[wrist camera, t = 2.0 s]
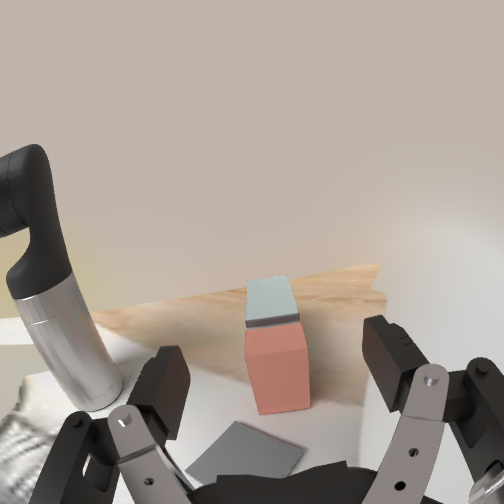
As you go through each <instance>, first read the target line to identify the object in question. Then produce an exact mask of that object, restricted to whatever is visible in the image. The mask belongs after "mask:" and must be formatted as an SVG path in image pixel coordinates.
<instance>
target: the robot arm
mask: <svg viewBox="0 0 504 504" xmlns="http://www.w3.org/2000/svg"><path fill="white" fill-rule="evenodd" d="M27 227H29V230H30V244H29V246H28V248H27V250H26V252H25V253H24V255H23V256H22V257H21V259H20V260H19V261H18V262H17V263H16V264H15V265H14V266H13V267H12V268H11V269H10V270H9V271H8V273H7V275H6V282H7V286H8V288H9V291H10V293H11V296H12V298H13V301H14V303H15V305H16V308H17V310H18V312H19V314H20V316H21V319H22V320H23V322H24V325H25V327H26V329H27V331H28V333H29V334H30V336H31V338H32V340H33V342H34V344H35V346H36V348H37V349H38V351H39V353H40V354H41V356H42V358H43V360H44V361H45V363H46V365H47V366H48V368H49V369H50V371H51V373H52V374H53V376H54V377H55V379H56V380H57V382H58V383H59V385H60V386H61V388H62V389H63V391H64V392H65V393H66V395H67V396H68V398H69V399H70V400H71V402H72V403H73V404H74V406H75V407H77V408H78V409H80V410H83V411H77V412H74V413H72V414H70V415H69V416H68V417H67V418H66V420H65V422H64V423H63V425H62V427H61V429H60V431H59V434H58V436H57V438H56V440H55V442H54V444H53V446H52V448H51V450H50V453H49V455H48V457H47V459H46V461H45V464H44V466H43V468H42V471H41V473H40V475H39V478H38V480H37V483H36V485H35V488H34V490H33V493H32V496H31V498H30V501H29V504H112V502H113V498H114V494H115V490H116V486H117V482H118V478H119V475H120V472H121V474H122V477H123V479H124V481H125V484H126V486H127V488H128V490H129V492H130V494H131V496H132V498H133V500H134V502H135V504H443V503H441V502H438V501H436V500H433V499H431V498H429V497H427V496H425V495H424V492H425V490H426V487H427V485H428V482H429V479H430V476H431V473H432V470H433V467H434V464H435V461H436V458H437V454H438V450H439V447H440V443H441V439H442V435H443V431H444V425H445V423H449V425H450V427H451V429H452V432H453V434H454V436H455V438H456V440H457V442H458V444H459V447H460V449H461V451H462V453H463V456H464V458H465V461H466V463H467V465H468V468H469V470H470V473H471V475H472V478H473V480H474V483H475V484H474V485H473V487H472V489H471V491H470V495H469V504H504V375H503V374H502V373H501V372H500V370H499V369H498V368H497V366H496V365H495V364H494V363H493V362H492V361H491V360H489V359H487V358H483V357H480V358H479V357H478V358H475V359H473V360H471V361H470V362H469V364H468V366H467V368H466V370H461V371H453V372H447V370H446V369H445V368H444V367H442V366H440V365H437V364H430V363H429V362H428V360H427V359H426V358H425V356H424V355H423V354H422V352H421V351H420V350H419V348H418V347H417V346H416V344H415V343H413V340H412V339H411V338H410V337H409V335H408V334H407V333H406V331H405V330H404V329H403V328H402V327H400V326H398V325H396V324H395V323H392V324H389V323H388V322H387V321H386V319H385V318H384V317H383V315H377V316H373V317H369V318H365V319H364V326H363V342H362V351H363V356H364V359H365V361H366V363H367V365H368V367H369V369H370V371H371V374H372V376H373V378H374V380H375V382H376V384H377V386H378V388H379V390H380V392H381V394H382V396H383V399H384V401H385V403H386V405H387V407H388V409H389V411H390V413H391V412H394V411H397V410H399V411H400V413H401V417H400V419H399V422H398V425H397V428H396V430H395V433H394V435H393V438H392V440H391V443H390V445H389V447H388V449H387V452H386V454H385V456H384V458H383V460H382V462H381V465H380V467H379V469H378V471H374V470H370V469H366V468H360V467H347V464H346V460H345V461H340V462H336V463H332V464H327V465H322V466H317V467H313V468H310V469H308V470H305V471H302V472H300V473H297V474H294V475H291V476H288V477H285V478H270V477H262V476H255V475H249V474H243V475H217V478H216V482H213V483H210V484H206V485H204V486H201V487H199V488H197V489H195V488H194V487H193V486H192V485H191V483H190V482H189V481H188V480H187V479H186V477H185V476H184V474H183V473H182V471H181V470H180V468H179V467H178V465H177V464H176V462H175V461H174V459H173V458H172V456H171V455H170V453H169V451H168V450H167V448H166V447H165V443H166V440H176V438H177V434H178V430H179V426H180V422H181V418H182V414H183V410H184V406H185V402H186V398H187V394H188V390H189V386H190V373H189V370H188V367H187V365H186V362H185V360H184V357H183V355H182V352H181V350H180V348H179V346H177V345H176V346H161V347H160V349H159V351H158V353H157V355H156V358H151V359H150V360H149V361H148V362H147V363H146V364H145V365H144V367H143V369H142V371H141V373H140V374H141V375H139V377H138V379H137V382H136V384H135V386H134V388H133V390H132V392H131V394H130V397H129V399H128V401H127V403H126V405H122V406H119V407H117V408H115V409H114V410H113V411H112V412H111V413H110V414H109V417H108V418H101V419H92V418H91V417H90V416H89V414H88V413H86V412H84V411H96V410H99V409H102V408H104V407H106V406H108V405H109V404H111V403H112V402H113V401H114V400H115V399H116V398H117V397H118V396H119V394H120V392H121V390H122V387H123V380H122V377H121V376H120V374H119V372H118V370H117V368H116V367H115V365H114V363H113V361H112V359H111V357H110V355H109V353H108V351H107V349H106V347H105V345H104V343H103V341H102V339H101V337H100V335H99V333H98V331H97V329H96V327H95V325H94V322H93V320H92V318H91V316H90V313H89V311H88V309H87V306H86V304H85V301H84V299H83V297H82V294H81V292H80V289H79V287H78V284H77V281H76V278H75V276H74V273H73V270H72V267H71V264H70V262H69V258H68V254H67V250H66V246H65V242H64V238H63V235H62V231H61V227H60V222H59V218H58V213H57V208H56V201H55V194H54V187H53V181H52V174H51V169H50V165H49V161H48V158H47V155H46V153H45V151H44V149H43V148H42V147H41V146H39V145H37V144H31V145H28V146H25V147H23V148H20V149H18V150H16V151H13V152H11V153H9V154H7V155H5V156H3V157H1V158H0V238H1V237H6V236H8V235H11V234H13V233H15V232H18V231H20V230H22V229H25V228H27ZM88 455H89V456H90V457H91V458H90V461H89V463H88V466H87V469H86V472H85V475H84V476H83V467H84V464H85V462H86V459H87V456H88Z"/></svg>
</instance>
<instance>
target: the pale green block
mask: <svg viewBox="0 0 504 504" xmlns="http://www.w3.org/2000/svg"><path fill="white" fill-rule="evenodd" d="M247 282H248V283H247V305H246V320H245V323H246V327H247V330H253V329H260V328H268V327H275V326H282V325H288V324H294V323H299V321H300V317H299V313H298V310H297V306H296V303H295V299H294V296H293V292H292V289H291V285H290V282H289V278H288V275H285V276H278V277H272V278H266V279H258V280H251V281H247Z"/></svg>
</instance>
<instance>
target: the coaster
mask: <svg viewBox="0 0 504 504" xmlns="http://www.w3.org/2000/svg"><path fill="white" fill-rule="evenodd" d="M303 453H304V449H301V448H298V447H295V446H293V445H290V444H287V443H285V442H282V441H280V440H277V439H275V438H272V437H270V436H267V435H265V434H263V433H260V432H258V431H256V430H254V429H251V428H249V427H247V426H245V425H243V424H241V423H239V422H237V421H235V422H234V423H233V424H232V425H231V426H230V427H229V428H228V429H227V430H226V431H225V432H224V433H223V434H222V435H221V436H220V437H219V438H218V439H217V440H216V441H215V442H214V443H213V444H212V445H211V446H210V447H209V448H208V449H207V450H206V451H205V452H204V453H203V454H202V455H201V456H200V457H199V458H198V459H197V460H196V461H195V462H194V463H193V464H191V465H190V466H189V467H188V468H187V469H186V470H185V472H186V473H187V474H188V475H190V476H191V477H193V478H194V479H195V480H197V481H198V482H200V483H201V484H203V485H206V484H210V483H213V482H216V478H217V475H243V474H249V475H255V476H262V477H270V478H285V477H287V475H288V474H289V473H290V471H291V470H292V468H293V467H294V466H295V464H296V463H297V461H298V460H299V458H300V457H301V456H302V454H303Z"/></svg>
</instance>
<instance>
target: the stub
mask: <svg viewBox="0 0 504 504" xmlns="http://www.w3.org/2000/svg"><path fill="white" fill-rule="evenodd" d="M245 360H246V364H247V368H248V372H249V376H250V380H251V384H252V388H253V392H254V396H255V400H256V404H257V408H258V411H259V415H263V414H272V413H280V412H288V411H294V410H301V409H307V408H310V380H309V359H308V346H307V342H306V339H305V335H304V331H303V328H302V324H301V323H294V324H288V325H282V326H275V327H268V328H260V329H253V330H246V335H245Z"/></svg>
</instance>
